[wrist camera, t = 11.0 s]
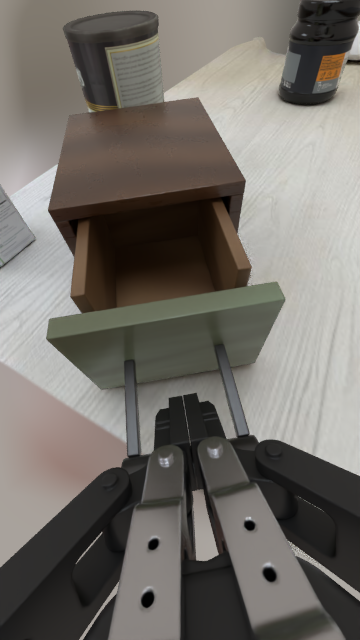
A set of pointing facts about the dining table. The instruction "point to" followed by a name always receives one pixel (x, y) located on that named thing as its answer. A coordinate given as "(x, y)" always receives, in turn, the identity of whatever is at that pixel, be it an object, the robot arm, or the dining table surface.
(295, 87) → the supplement container
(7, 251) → the syrup box
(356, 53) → the flower in vase
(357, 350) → the dining table surface
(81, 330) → the drawer
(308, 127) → the dining table surface
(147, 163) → the cabinet
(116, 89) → the coffee can
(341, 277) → the dining table surface
